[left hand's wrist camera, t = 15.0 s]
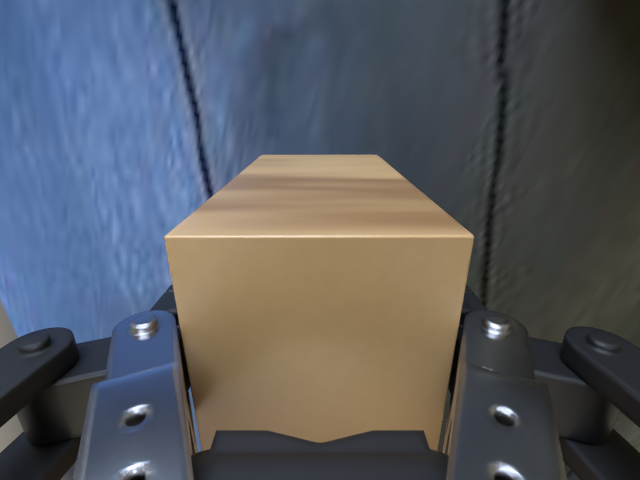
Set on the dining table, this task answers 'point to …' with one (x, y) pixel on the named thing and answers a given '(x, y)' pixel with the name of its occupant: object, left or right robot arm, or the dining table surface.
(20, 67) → the dining table surface
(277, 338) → the box
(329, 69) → the dining table surface
